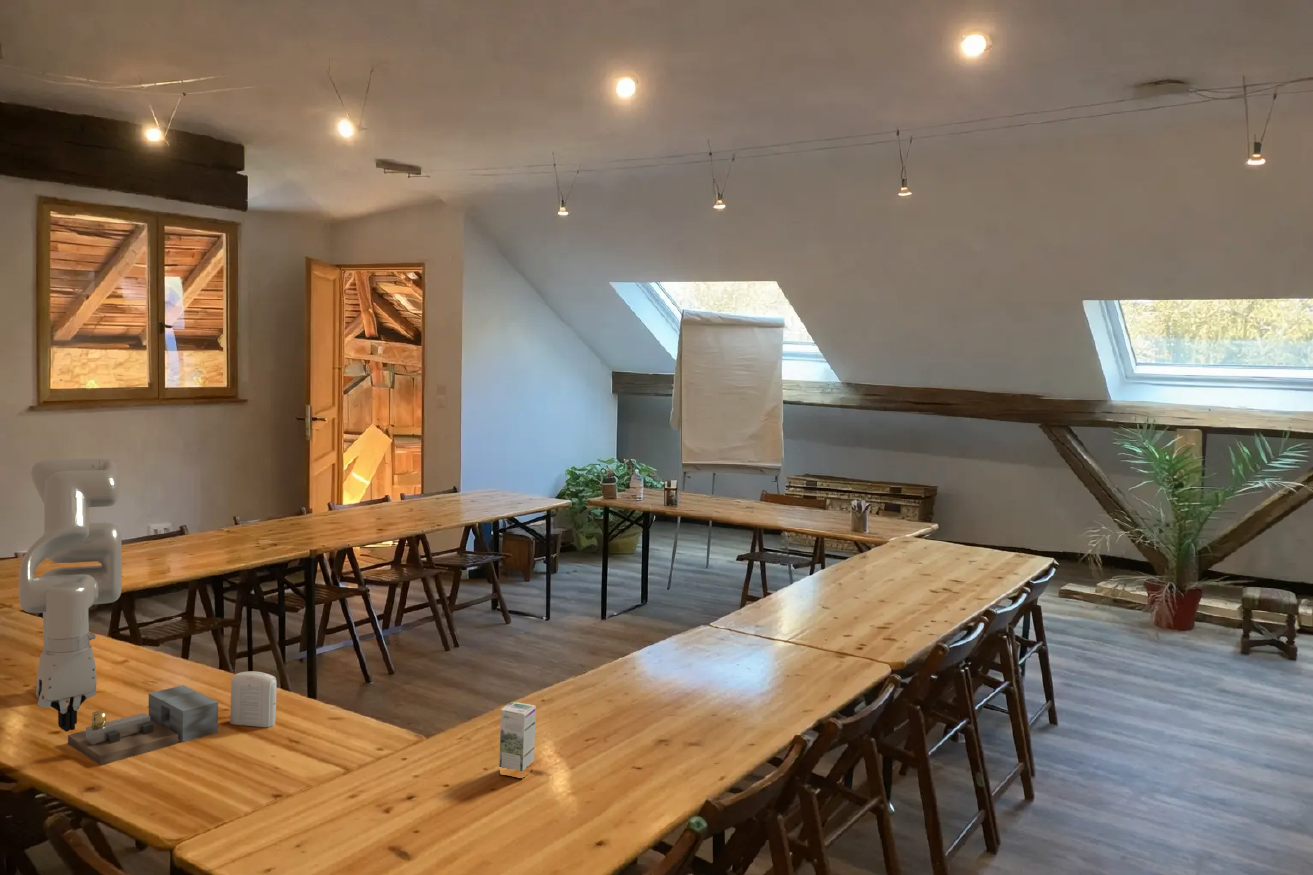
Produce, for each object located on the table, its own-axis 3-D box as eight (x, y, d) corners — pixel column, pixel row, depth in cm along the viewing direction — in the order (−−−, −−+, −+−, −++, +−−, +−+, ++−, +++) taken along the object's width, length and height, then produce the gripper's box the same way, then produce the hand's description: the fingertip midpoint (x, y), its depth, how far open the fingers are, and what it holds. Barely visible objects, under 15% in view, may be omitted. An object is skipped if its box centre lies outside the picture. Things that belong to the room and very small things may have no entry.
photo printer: (278, 721, 227) (279, 670, 226) (270, 728, 222) (271, 676, 221) (236, 718, 227) (237, 667, 226) (227, 725, 223) (227, 673, 222)
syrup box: (534, 769, 207) (537, 704, 206) (522, 780, 201) (524, 713, 200) (510, 765, 209) (513, 699, 208) (497, 775, 203) (500, 708, 202)
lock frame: (100, 765, 199) (100, 732, 199) (67, 743, 209) (67, 712, 208) (217, 731, 219) (218, 701, 219) (183, 713, 229) (183, 684, 228)
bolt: (92, 744, 204) (92, 717, 203) (85, 740, 206) (85, 713, 205) (150, 729, 213) (150, 702, 213) (143, 725, 215) (143, 699, 215)
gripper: (98, 632, 208) (98, 714, 209) (19, 646, 196) (20, 733, 198) (113, 639, 203) (113, 724, 205) (34, 654, 192) (34, 744, 193)
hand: (67, 728), depth 201 cm, fingers closed
